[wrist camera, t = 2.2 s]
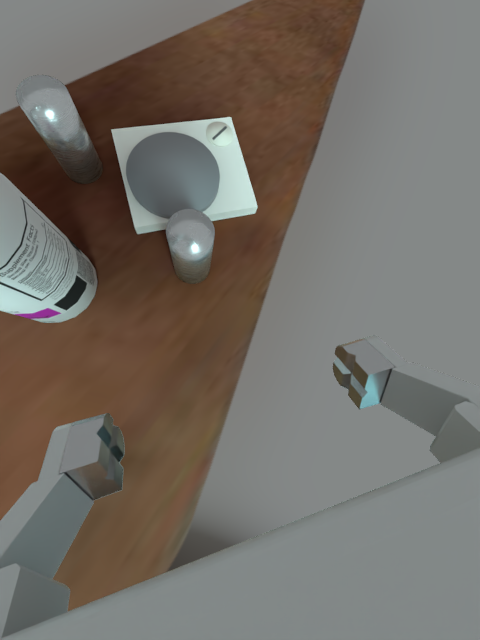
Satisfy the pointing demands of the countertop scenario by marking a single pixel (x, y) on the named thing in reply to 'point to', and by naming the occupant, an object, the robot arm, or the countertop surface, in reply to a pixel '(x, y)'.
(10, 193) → the supplement can
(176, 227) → the glossy grey rounded cylinder
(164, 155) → the scale
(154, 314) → the countertop surface
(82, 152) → the cylinder
